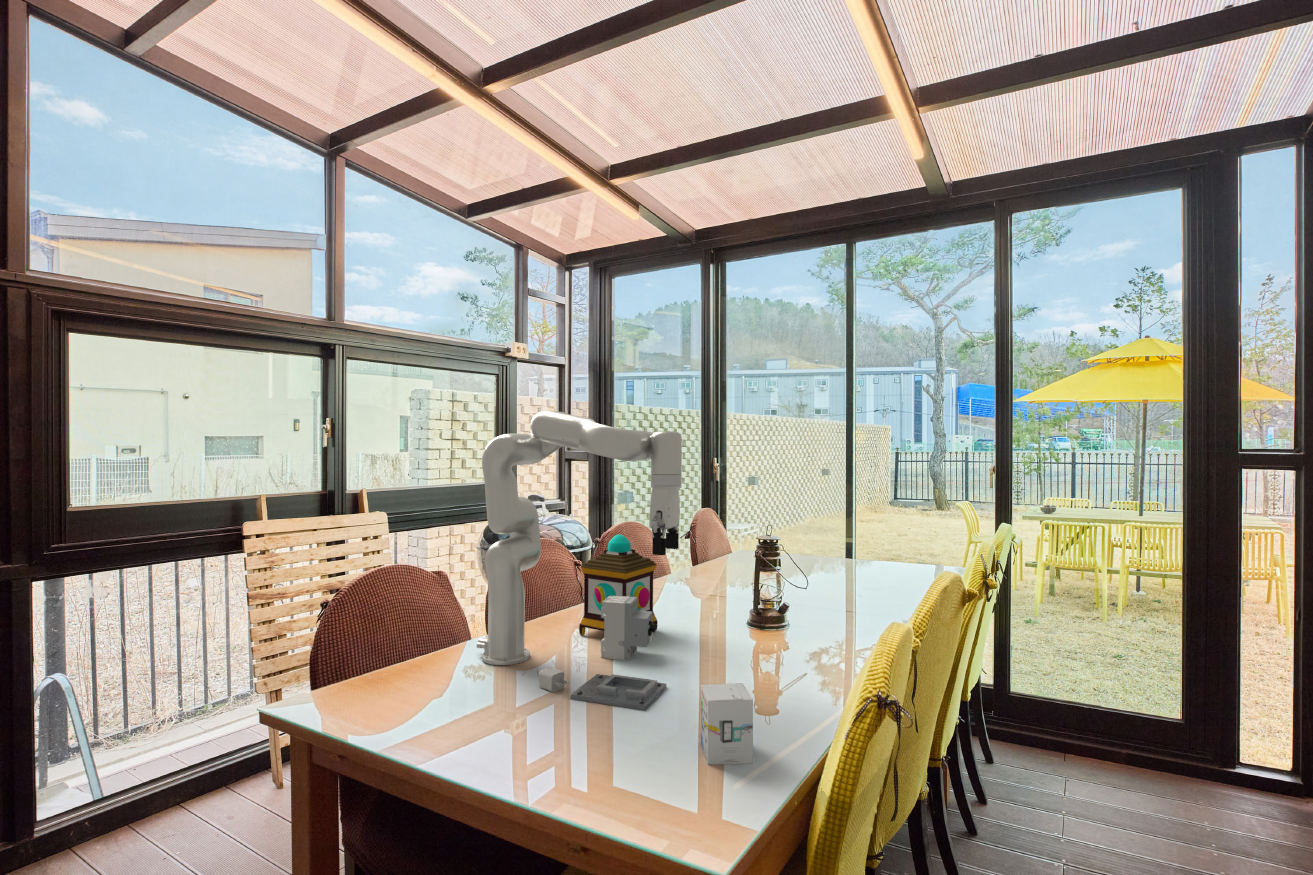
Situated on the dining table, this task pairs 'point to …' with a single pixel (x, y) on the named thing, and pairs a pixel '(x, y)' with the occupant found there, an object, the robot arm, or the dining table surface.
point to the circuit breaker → (624, 627)
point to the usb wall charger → (551, 679)
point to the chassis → (620, 691)
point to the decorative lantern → (616, 581)
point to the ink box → (726, 724)
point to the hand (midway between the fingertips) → (665, 551)
